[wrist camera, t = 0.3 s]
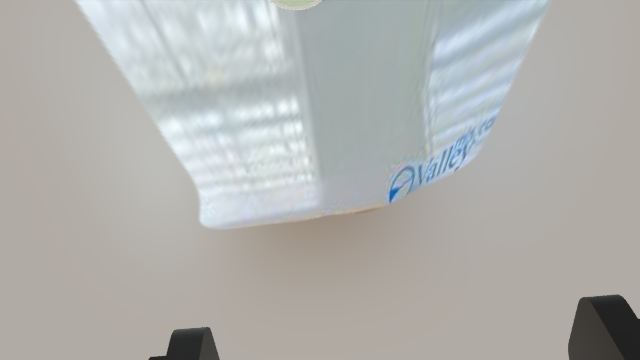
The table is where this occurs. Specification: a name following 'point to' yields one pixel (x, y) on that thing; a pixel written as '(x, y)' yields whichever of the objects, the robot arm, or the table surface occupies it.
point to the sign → (295, 4)
